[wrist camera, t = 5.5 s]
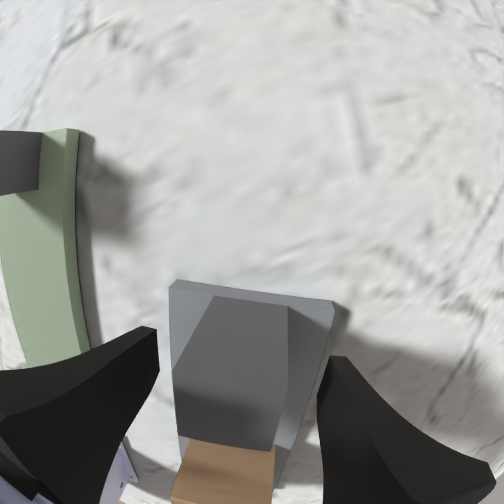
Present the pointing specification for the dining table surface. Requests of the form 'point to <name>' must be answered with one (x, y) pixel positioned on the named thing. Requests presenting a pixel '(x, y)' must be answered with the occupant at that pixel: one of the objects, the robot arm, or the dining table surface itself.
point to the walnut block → (223, 475)
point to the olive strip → (41, 243)
